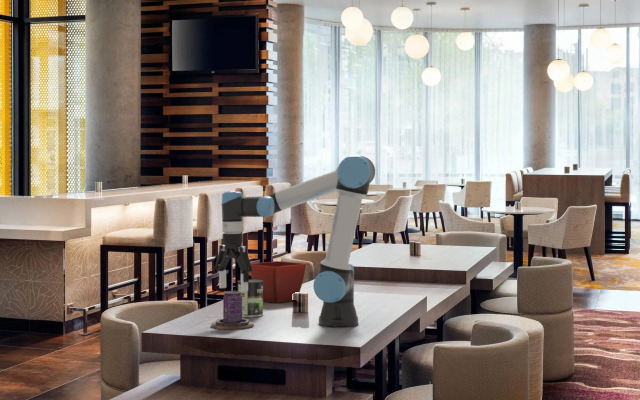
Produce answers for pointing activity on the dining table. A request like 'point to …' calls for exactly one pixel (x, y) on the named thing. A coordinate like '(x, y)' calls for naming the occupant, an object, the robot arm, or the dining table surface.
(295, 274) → the plant pot
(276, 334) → the dining table surface
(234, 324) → the coaster
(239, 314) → the beverage can
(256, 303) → the coffee can
